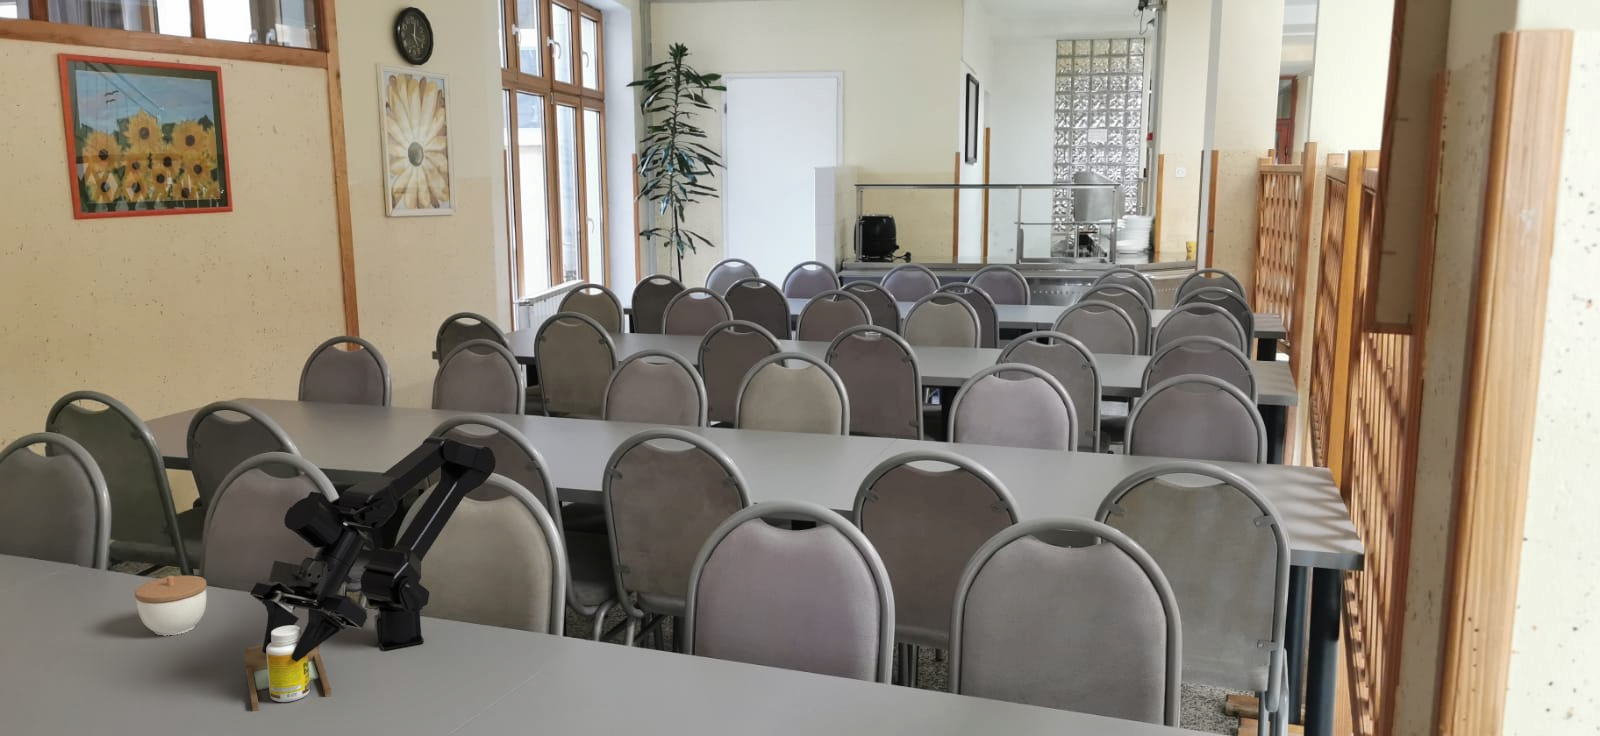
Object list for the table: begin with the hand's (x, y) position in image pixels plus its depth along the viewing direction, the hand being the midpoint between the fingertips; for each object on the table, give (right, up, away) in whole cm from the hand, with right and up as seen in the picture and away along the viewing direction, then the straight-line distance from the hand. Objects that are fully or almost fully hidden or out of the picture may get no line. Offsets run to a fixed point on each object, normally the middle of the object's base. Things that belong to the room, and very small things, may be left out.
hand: (279, 656), depth 171 cm
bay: (-2, -6, +6) cm, 9 cm away
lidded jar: (-30, -2, +28) cm, 41 cm away
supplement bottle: (+1, -6, +2) cm, 7 cm away
